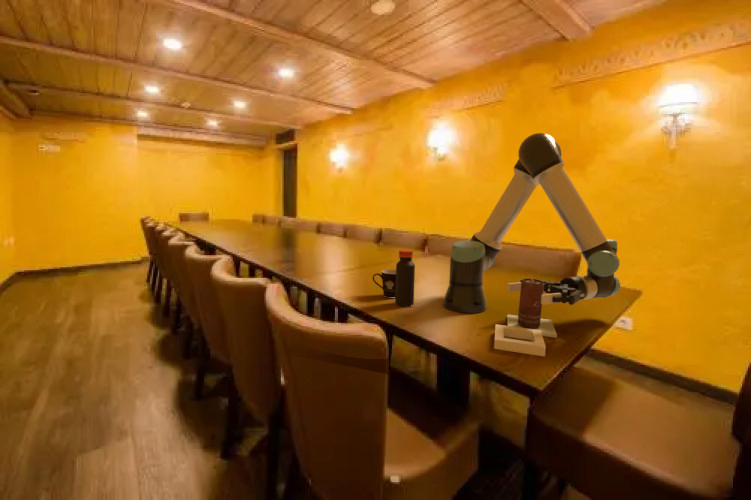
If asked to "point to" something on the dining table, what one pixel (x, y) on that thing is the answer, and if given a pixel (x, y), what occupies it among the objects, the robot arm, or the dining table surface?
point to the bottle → (405, 279)
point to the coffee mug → (388, 282)
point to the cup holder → (519, 345)
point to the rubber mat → (545, 328)
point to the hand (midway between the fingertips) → (524, 293)
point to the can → (530, 303)
